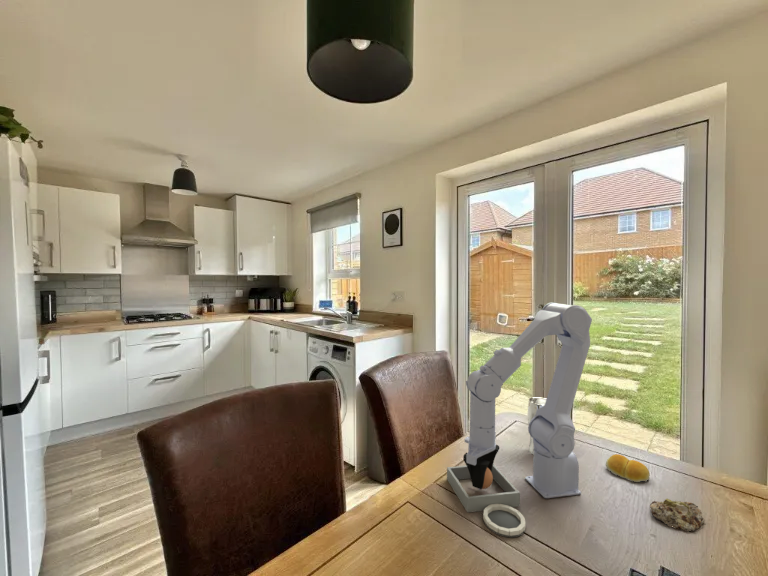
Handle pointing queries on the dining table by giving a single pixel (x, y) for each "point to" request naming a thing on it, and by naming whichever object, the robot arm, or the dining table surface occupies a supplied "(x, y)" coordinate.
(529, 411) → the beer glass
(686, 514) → the mineral rock
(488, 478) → the orange ball
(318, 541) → the dining table surface
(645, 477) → the bread roll
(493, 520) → the ring
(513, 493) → the low pen
